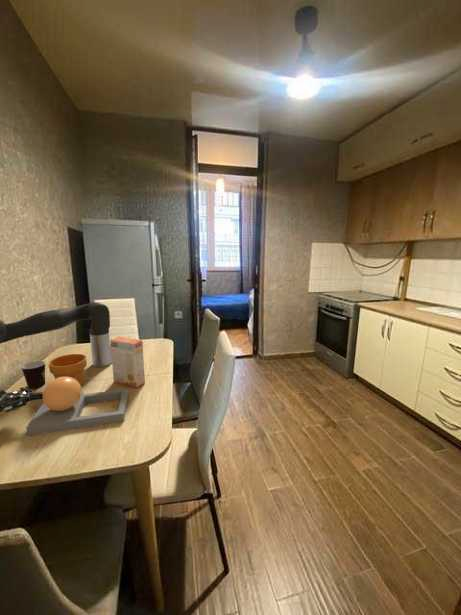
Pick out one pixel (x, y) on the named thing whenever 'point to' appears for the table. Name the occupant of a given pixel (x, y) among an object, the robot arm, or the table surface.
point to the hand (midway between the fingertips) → (43, 395)
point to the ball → (61, 393)
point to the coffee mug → (34, 374)
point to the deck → (78, 414)
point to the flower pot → (69, 366)
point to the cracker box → (127, 361)
